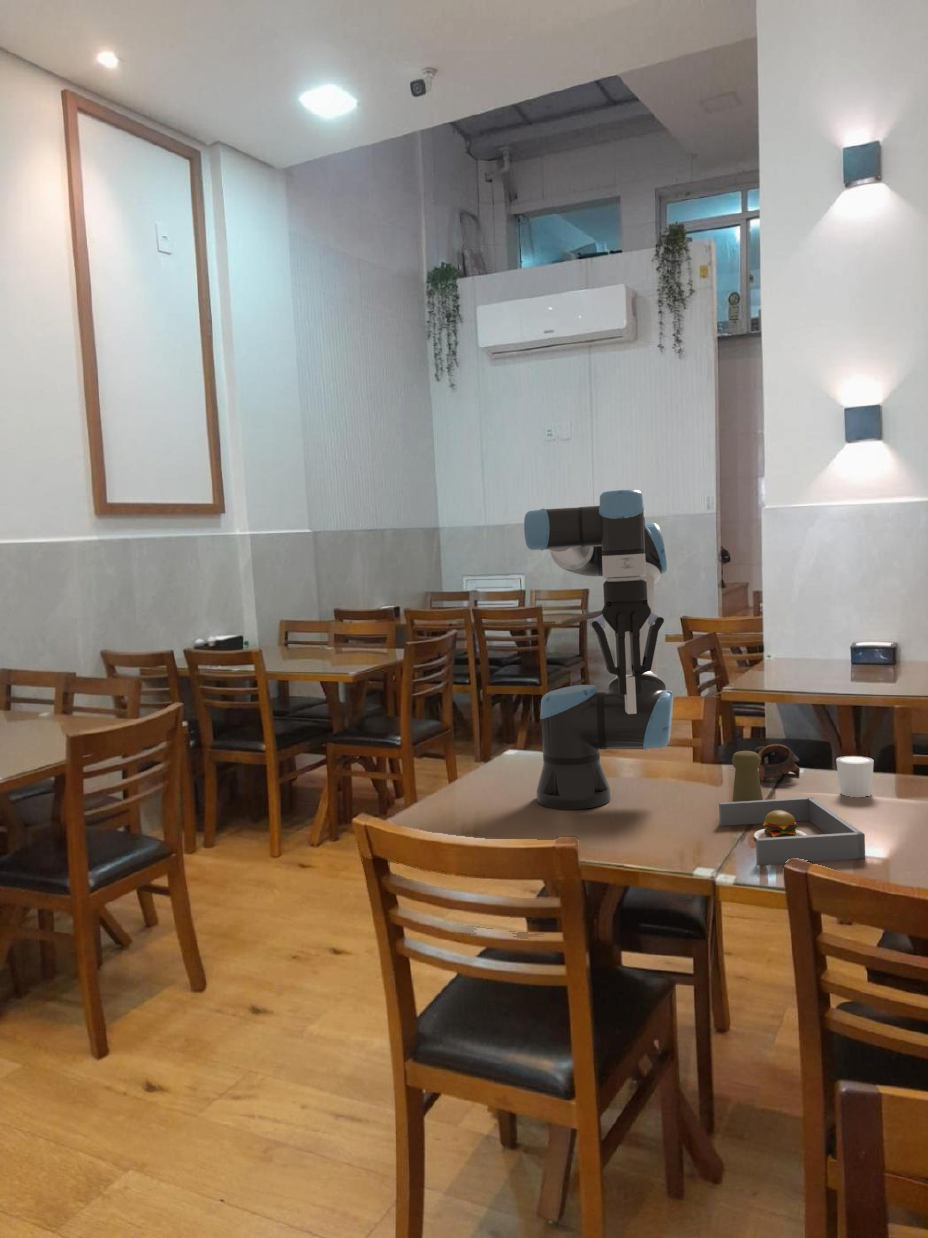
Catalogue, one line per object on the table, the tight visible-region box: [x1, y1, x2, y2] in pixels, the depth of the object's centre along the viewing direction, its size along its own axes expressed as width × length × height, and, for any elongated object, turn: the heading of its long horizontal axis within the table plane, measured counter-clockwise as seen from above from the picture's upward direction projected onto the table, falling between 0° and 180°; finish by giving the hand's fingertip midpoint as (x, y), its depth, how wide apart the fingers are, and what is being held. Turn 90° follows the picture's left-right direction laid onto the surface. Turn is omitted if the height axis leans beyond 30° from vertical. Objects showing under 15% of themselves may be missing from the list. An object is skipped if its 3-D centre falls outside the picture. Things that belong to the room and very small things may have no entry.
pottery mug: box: [754, 743, 801, 782], centre depth 200 cm, size 12×10×8 cm
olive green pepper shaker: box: [731, 750, 764, 802], centre depth 178 cm, size 6×6×11 cm
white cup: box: [835, 755, 875, 798], centre depth 183 cm, size 7×7×7 cm
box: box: [718, 796, 866, 866], centre depth 158 cm, size 22×17×4 cm
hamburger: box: [753, 810, 808, 840], centre depth 160 cm, size 12×12×6 cm
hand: (630, 712), depth 164 cm, fingers closed
